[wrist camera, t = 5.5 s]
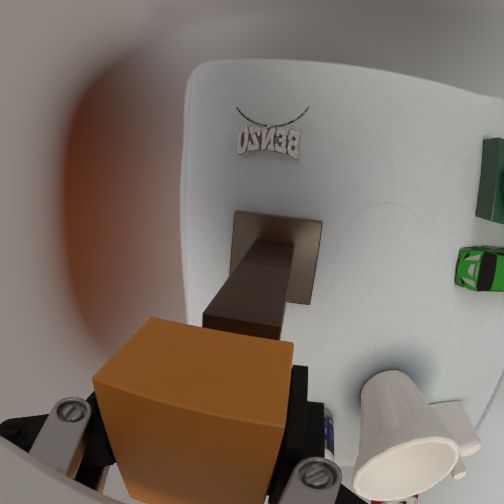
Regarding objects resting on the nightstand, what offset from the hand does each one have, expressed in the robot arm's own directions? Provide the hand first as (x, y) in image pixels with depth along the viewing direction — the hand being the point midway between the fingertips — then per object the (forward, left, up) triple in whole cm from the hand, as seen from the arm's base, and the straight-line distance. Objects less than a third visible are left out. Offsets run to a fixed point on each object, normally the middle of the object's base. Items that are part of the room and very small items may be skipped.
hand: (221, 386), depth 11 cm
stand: (0, 0, -20) cm, 20 cm away
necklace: (-11, -1, -20) cm, 23 cm away
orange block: (0, 0, +1) cm, 1 cm away
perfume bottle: (+17, +23, -20) cm, 35 cm away
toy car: (-2, +24, -20) cm, 31 cm away
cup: (+14, +15, -20) cm, 29 cm away
